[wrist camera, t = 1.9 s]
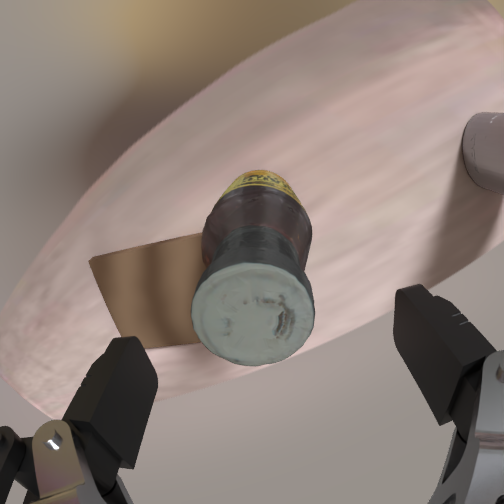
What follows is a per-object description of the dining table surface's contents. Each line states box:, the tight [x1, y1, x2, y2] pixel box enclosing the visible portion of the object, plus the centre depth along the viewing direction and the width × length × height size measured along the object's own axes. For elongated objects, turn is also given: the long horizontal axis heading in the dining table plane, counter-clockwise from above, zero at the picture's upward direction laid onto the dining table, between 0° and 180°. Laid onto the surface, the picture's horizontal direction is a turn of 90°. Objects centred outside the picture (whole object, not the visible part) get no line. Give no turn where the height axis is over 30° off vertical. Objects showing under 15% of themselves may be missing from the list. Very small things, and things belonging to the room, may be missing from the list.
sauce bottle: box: [191, 170, 315, 366], centre depth 18 cm, size 6×6×20 cm
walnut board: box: [88, 233, 207, 348], centre depth 31 cm, size 14×12×1 cm
